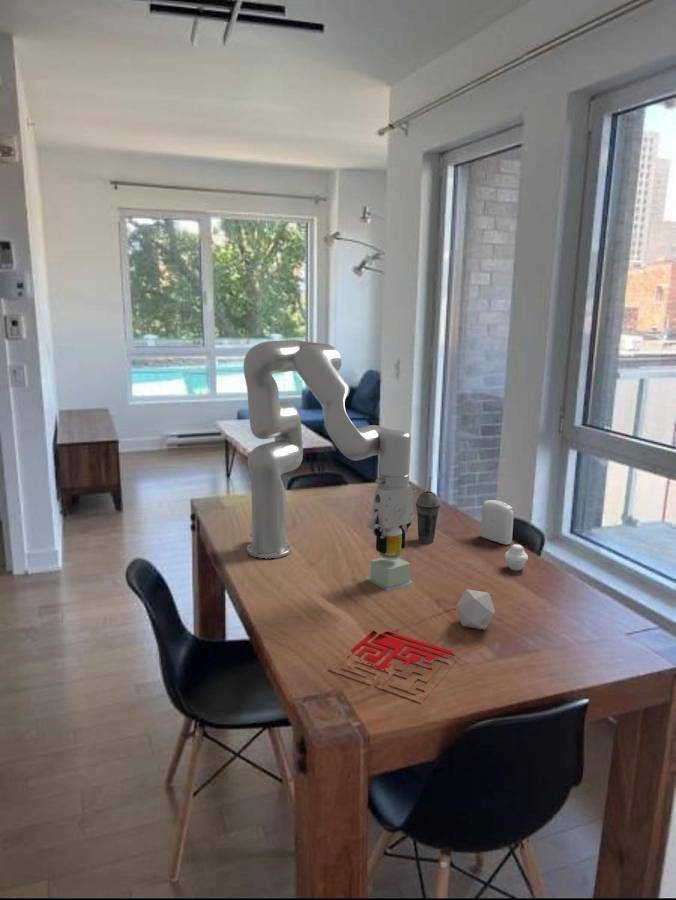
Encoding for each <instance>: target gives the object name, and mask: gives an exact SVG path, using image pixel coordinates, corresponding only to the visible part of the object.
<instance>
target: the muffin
mask: <svg viewBox="0 0 676 900" xmlns="http://www.w3.org/2000/svg"><path fill="white" fill-rule="evenodd" d="M504 558H505V561H506V564H507V565H508V568H509V569H510V570H512V571H521V570H522V569H523V568H524V566H525V565H526V563H527V562H528V559H529V556H528V553H526V551H525V548H524V546H522V545H521V544H518V543H516V544H515V543H514V544H512V545H510V548H509V549H508V550H507V551H506V552H505V554H504Z"/></svg>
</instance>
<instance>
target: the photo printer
mask: <svg viewBox="0 0 676 900" xmlns="http://www.w3.org/2000/svg"><path fill="white" fill-rule="evenodd" d="M514 518H515V510H514V508H513V507H512V506H511V505H509V504H508V503H505V502H504V501H500V500H495V499H490V500H485V501H484V502H483V504H482V507H481V520H480V537H481V538H483V539H487V540H489V541H491V542H492V541H493V542H496V543H498V544H502V545H505V546H507V545H511V544H512V542H513V534H514V533H513V531H514V530H513V529H514Z"/></svg>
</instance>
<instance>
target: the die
mask: <svg viewBox="0 0 676 900" xmlns="http://www.w3.org/2000/svg"><path fill="white" fill-rule="evenodd" d="M455 609H456V612H457V615H458V618H459V620H460V624H461V626H462V627H466V628H472V629H477V630H482V629H483V630H484V631H485V630H486V629H487V627H488V625H489V623H490V622H491V620H492V618H493V616H494V615H495V613H496V610H495V607H494V603H493V601H492V598H491V594H490V592H485V591H481V590H480V591H479V590H473V589H467V588H466V589H465V591H464V592H463V594H462V595H461V597H460V599H459V601H458V602H457V604H456V606H455Z"/></svg>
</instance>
